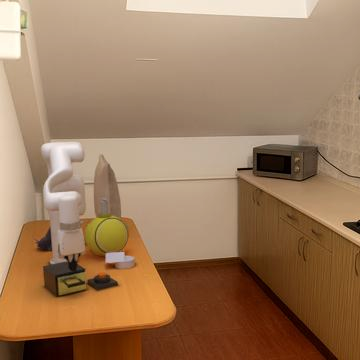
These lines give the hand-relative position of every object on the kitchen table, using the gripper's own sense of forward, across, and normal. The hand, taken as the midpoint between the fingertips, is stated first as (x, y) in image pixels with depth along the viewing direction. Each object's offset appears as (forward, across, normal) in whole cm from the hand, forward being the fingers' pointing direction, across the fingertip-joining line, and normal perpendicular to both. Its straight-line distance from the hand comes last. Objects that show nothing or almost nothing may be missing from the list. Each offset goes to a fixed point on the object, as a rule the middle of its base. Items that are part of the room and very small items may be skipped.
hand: (72, 270), depth 222 cm
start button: (+8, -14, -5) cm, 17 cm away
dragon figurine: (+10, -20, -71) cm, 74 cm away
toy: (+10, -33, -43) cm, 55 cm away
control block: (+11, -14, -5) cm, 18 cm away
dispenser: (+11, 0, -11) cm, 15 cm away
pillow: (+10, -52, -83) cm, 99 cm away
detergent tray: (+10, 0, -6) cm, 11 cm away
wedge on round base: (+11, -31, -23) cm, 40 cm away
